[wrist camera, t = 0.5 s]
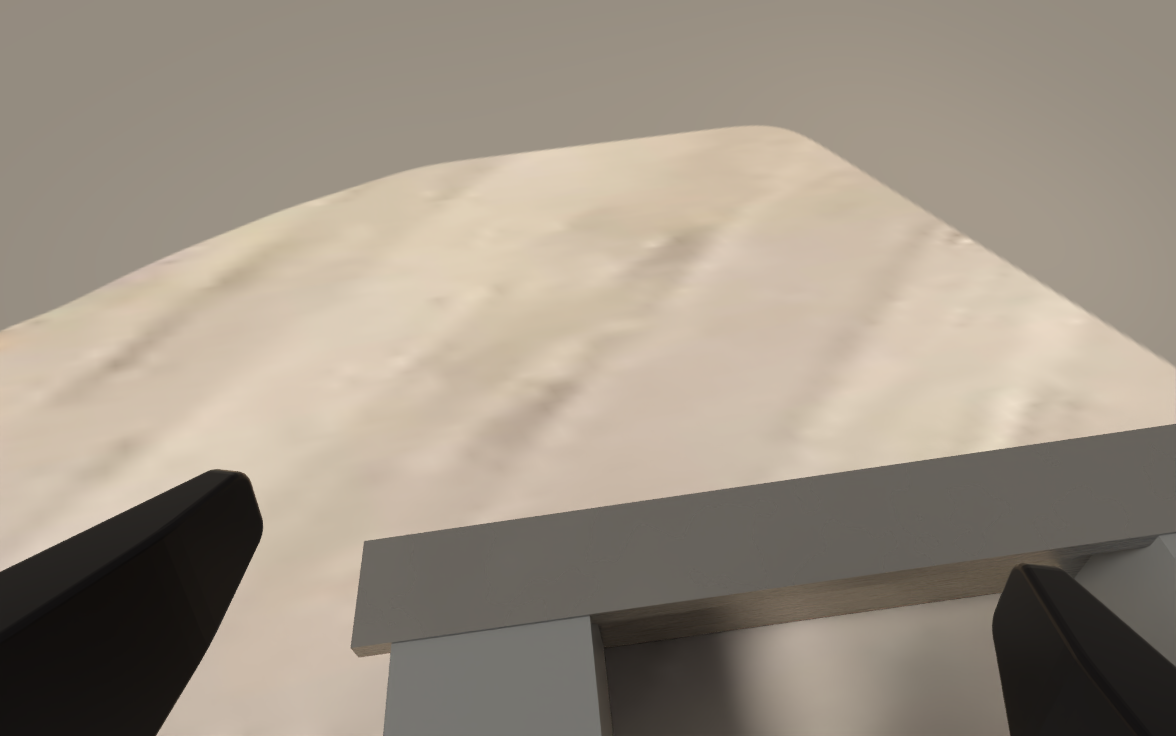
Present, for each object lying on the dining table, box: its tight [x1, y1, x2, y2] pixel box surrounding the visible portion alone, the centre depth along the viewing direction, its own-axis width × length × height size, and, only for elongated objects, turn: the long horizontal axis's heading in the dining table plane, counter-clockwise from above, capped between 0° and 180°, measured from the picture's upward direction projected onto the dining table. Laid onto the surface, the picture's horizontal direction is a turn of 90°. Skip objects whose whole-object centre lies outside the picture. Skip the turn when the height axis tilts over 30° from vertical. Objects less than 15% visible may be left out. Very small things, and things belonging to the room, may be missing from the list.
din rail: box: [351, 424, 1176, 657], centre depth 21 cm, size 3×26×5 cm, turn 95°
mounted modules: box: [383, 534, 1176, 736], centre depth 19 cm, size 6×24×4 cm, turn 95°
